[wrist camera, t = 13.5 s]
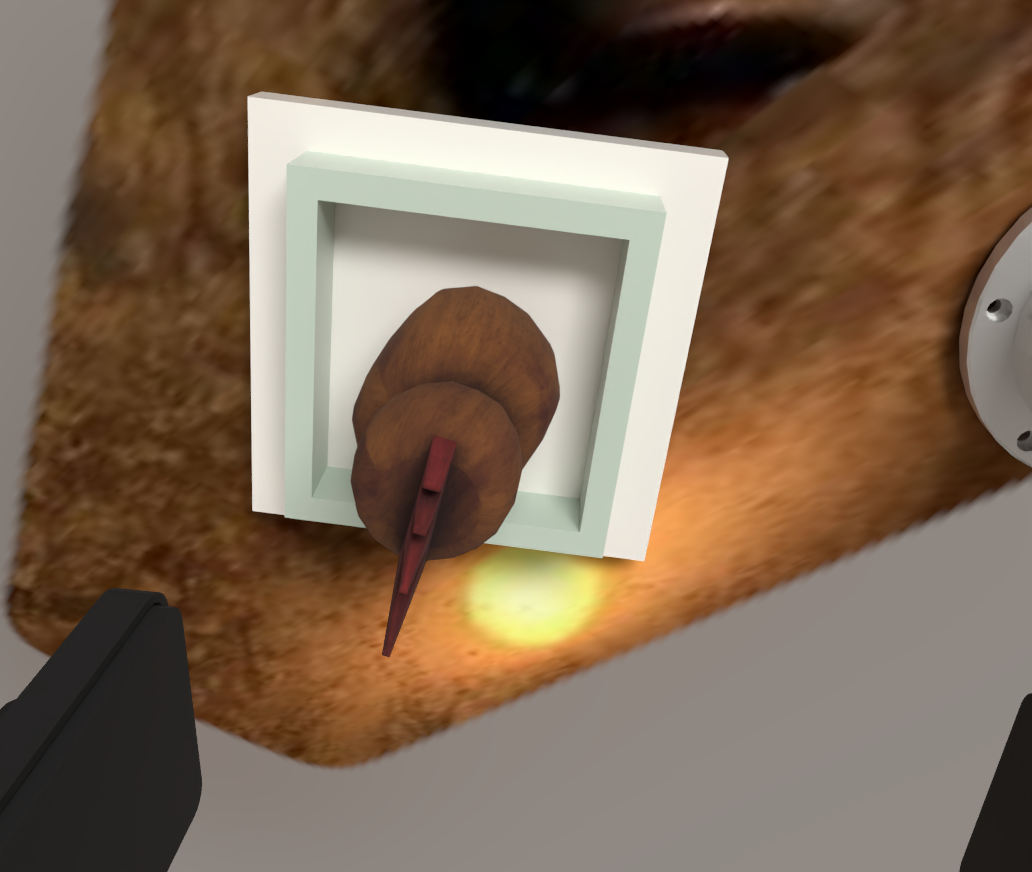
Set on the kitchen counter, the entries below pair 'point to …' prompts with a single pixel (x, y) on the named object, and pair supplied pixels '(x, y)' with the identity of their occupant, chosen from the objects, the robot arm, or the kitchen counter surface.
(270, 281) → the ceramic stand
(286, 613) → the kitchen counter surface
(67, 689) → the robot arm
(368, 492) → the wooden figurine
